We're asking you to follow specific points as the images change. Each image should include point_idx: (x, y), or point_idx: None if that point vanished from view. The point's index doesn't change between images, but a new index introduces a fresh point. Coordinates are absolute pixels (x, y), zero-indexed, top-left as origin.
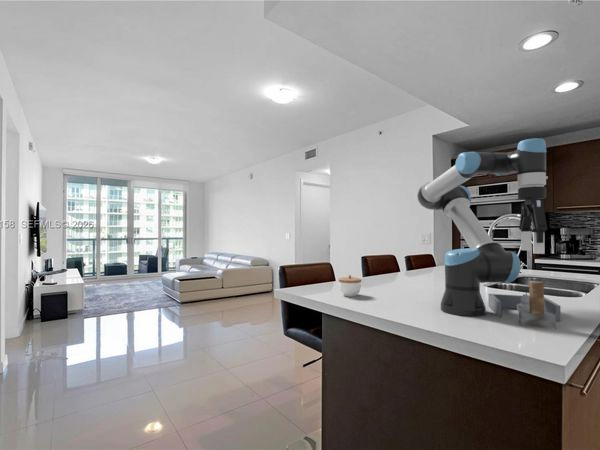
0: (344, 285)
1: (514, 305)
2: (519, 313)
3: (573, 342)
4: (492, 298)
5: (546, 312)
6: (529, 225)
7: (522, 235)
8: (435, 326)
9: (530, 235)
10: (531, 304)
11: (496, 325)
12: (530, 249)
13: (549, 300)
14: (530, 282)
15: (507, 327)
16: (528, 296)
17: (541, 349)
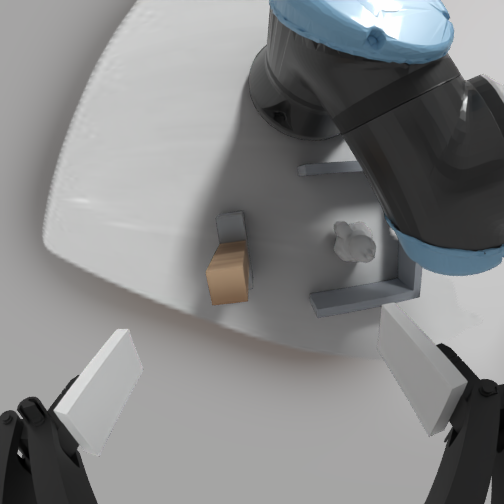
0: None
1: None
2: (235, 214)
3: (142, 287)
4: None
5: (369, 285)
6: (438, 476)
7: (433, 370)
8: (129, 57)
9: (417, 412)
10: (225, 248)
11: (191, 160)
12: (379, 349)
13: (378, 303)
14: (225, 267)
15: (185, 182)
16: (361, 257)
17: (79, 231)
